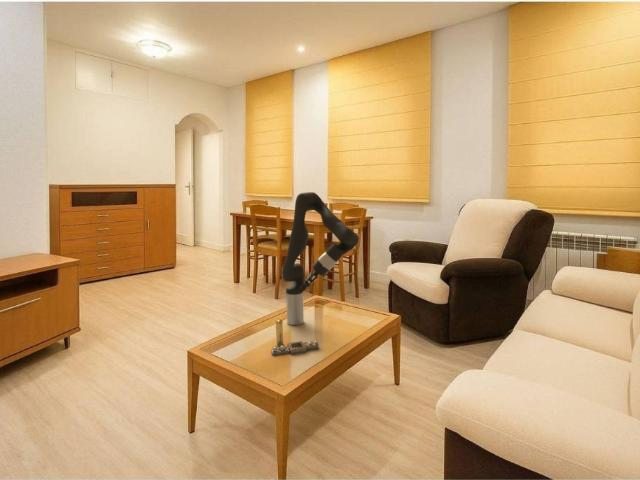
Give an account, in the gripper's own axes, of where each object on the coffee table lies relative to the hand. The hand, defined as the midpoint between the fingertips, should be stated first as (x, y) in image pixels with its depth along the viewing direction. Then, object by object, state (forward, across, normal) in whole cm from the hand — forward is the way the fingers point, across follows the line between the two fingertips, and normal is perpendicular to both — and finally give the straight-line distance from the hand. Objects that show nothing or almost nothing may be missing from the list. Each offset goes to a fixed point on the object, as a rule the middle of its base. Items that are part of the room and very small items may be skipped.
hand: (301, 288), depth 180 cm
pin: (+27, -1, +11) cm, 29 cm away
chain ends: (+21, +6, +17) cm, 28 cm away
